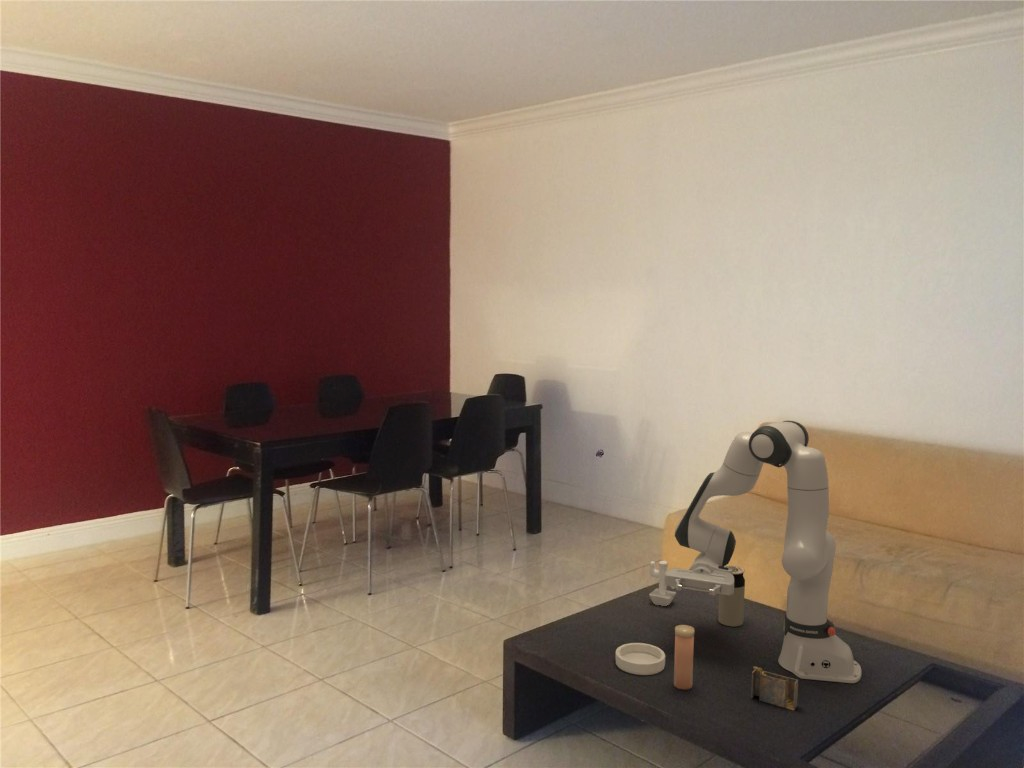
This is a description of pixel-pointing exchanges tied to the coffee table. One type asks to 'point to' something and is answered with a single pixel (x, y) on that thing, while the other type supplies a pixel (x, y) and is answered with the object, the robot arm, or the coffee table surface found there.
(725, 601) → the travel mug
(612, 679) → the coffee table surface
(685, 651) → the bead jar
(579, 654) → the coffee table surface
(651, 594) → the figurine
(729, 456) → the robot arm
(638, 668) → the round tray
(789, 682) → the brown piece
